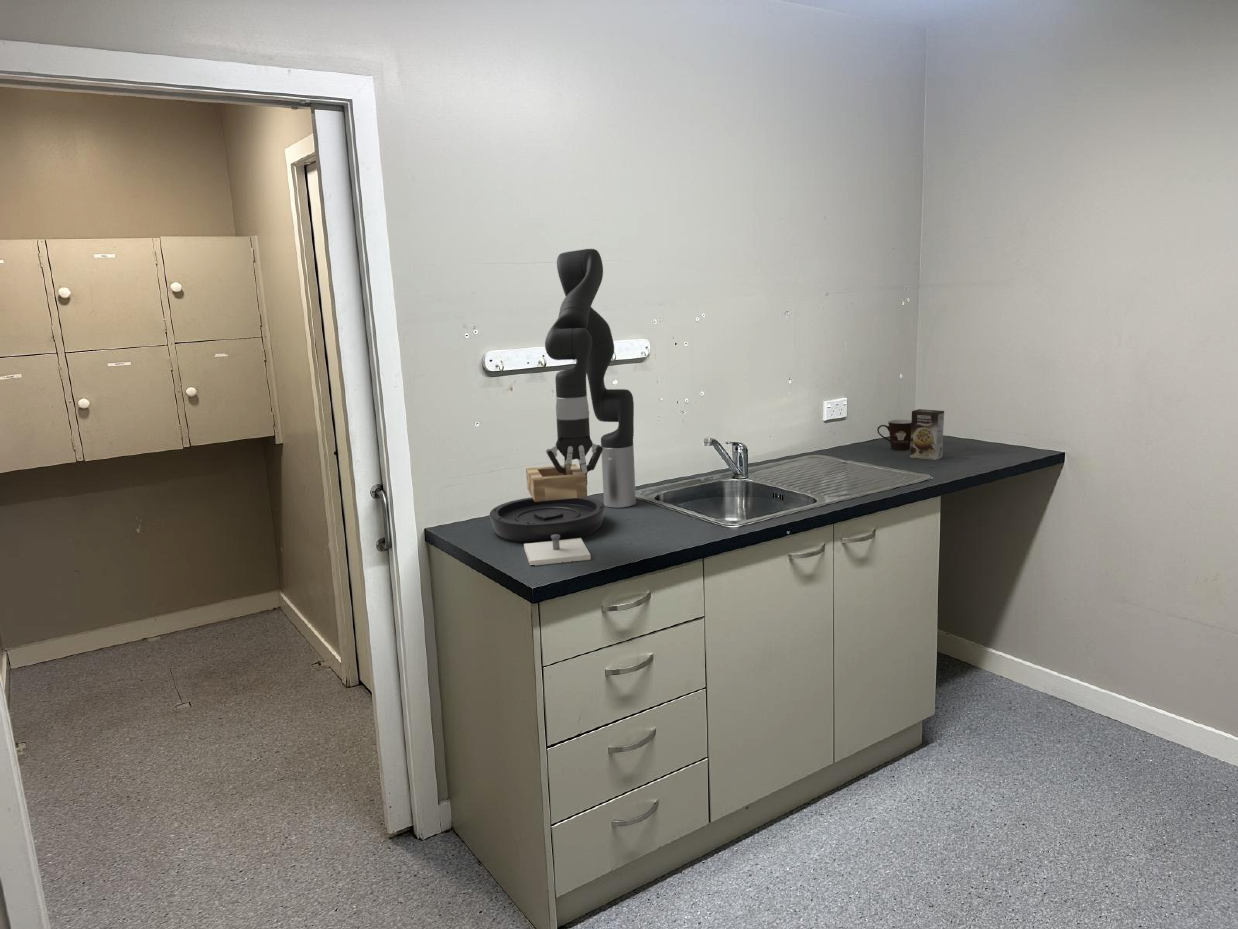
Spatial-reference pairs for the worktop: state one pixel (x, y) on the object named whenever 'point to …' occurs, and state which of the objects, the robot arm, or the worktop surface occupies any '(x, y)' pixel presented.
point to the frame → (556, 483)
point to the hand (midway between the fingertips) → (576, 488)
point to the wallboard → (556, 551)
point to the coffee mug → (899, 434)
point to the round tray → (547, 519)
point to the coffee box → (927, 434)
